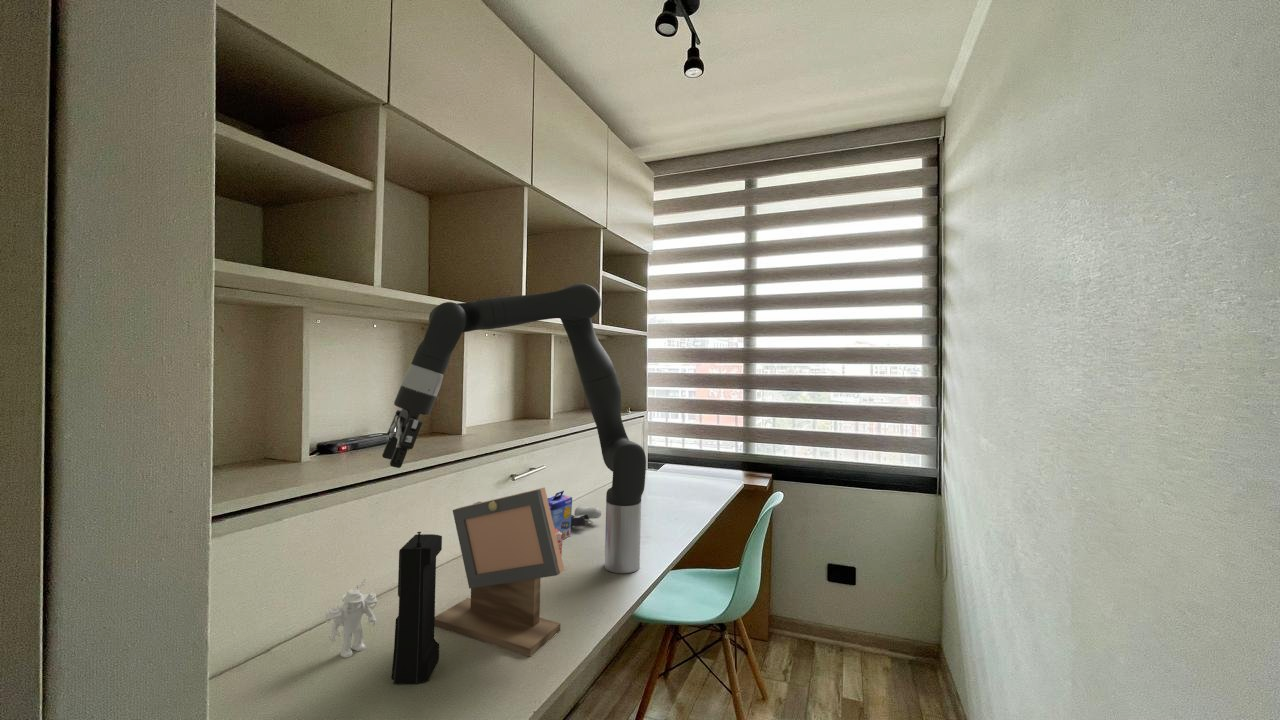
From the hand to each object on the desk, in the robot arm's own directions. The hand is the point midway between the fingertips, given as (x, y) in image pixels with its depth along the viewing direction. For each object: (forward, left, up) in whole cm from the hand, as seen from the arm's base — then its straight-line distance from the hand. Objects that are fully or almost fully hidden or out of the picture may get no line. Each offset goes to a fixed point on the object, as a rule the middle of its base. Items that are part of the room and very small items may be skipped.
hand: (390, 462), depth 108 cm
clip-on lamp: (-69, +3, -32) cm, 76 cm away
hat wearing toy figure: (+13, +6, -32) cm, 35 cm away
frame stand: (-5, +24, -32) cm, 40 cm away
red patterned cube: (-38, +12, -32) cm, 51 cm away
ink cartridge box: (-53, +6, -32) cm, 62 cm away
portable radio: (+12, +21, -32) cm, 40 cm away
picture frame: (-5, +29, -21) cm, 36 cm away
